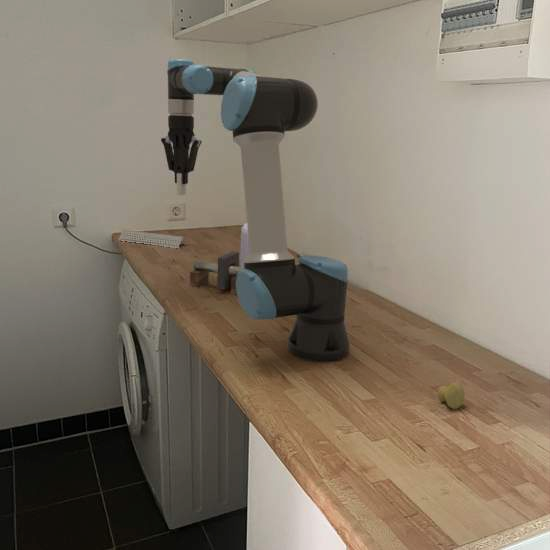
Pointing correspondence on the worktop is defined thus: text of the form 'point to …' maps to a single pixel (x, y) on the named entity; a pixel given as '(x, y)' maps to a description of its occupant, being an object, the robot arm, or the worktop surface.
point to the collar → (226, 269)
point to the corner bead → (152, 238)
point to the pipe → (215, 267)
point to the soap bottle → (244, 245)
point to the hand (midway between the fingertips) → (181, 194)
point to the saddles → (207, 280)
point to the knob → (452, 395)
